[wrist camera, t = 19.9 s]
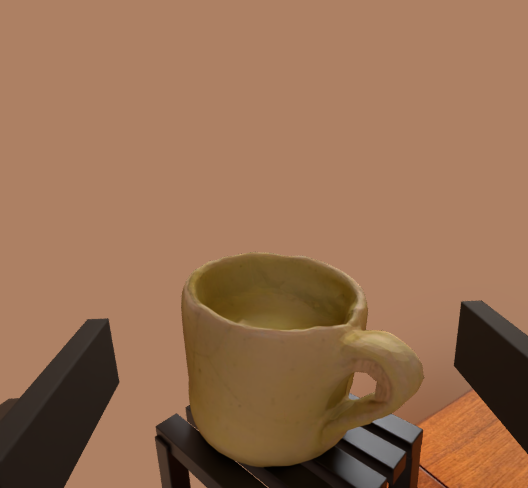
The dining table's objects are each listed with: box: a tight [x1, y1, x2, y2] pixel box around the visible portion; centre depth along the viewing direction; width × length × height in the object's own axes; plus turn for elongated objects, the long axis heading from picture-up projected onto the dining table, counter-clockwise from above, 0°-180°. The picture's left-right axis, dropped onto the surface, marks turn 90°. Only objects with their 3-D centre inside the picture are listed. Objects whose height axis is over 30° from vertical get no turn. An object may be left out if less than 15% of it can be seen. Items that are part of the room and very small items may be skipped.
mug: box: [181, 252, 424, 467], centre depth 20 cm, size 12×10×10 cm
